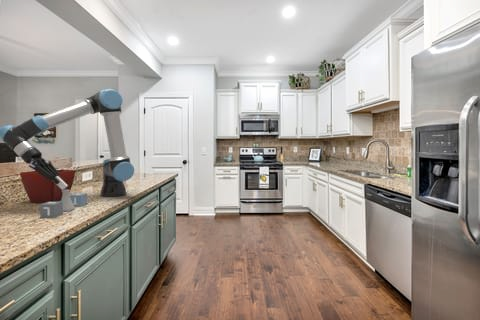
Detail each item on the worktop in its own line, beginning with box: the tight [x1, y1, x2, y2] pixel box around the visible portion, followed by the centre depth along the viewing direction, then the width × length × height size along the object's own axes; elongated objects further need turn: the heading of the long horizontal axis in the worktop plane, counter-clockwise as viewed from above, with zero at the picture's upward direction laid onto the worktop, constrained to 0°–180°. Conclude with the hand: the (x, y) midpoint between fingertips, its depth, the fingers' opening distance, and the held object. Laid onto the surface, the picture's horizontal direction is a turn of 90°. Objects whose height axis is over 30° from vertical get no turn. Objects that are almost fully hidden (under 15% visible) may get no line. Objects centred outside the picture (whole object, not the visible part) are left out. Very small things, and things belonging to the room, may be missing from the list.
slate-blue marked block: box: [70, 192, 88, 208], centre depth 142 cm, size 6×6×6 cm
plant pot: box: [19, 169, 76, 203], centre depth 154 cm, size 19×19×17 cm
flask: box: [60, 190, 76, 212], centre depth 131 cm, size 7×7×10 cm
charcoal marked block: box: [39, 201, 64, 219], centre depth 120 cm, size 6×6×6 cm
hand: (65, 187), depth 131 cm, fingers closed
